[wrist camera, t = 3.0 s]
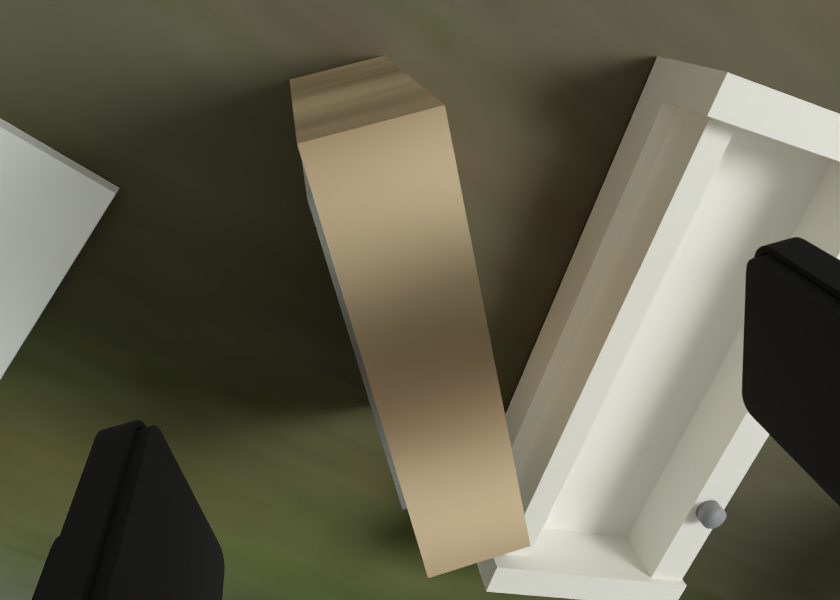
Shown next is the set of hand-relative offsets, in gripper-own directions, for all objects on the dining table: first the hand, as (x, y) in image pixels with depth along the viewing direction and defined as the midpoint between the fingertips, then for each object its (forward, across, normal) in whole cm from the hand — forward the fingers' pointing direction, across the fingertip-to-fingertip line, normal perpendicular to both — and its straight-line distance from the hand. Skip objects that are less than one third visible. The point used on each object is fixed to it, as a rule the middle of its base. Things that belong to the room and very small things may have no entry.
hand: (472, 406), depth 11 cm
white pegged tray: (+9, -7, +7) cm, 13 cm away
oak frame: (+9, 0, +1) cm, 9 cm away
